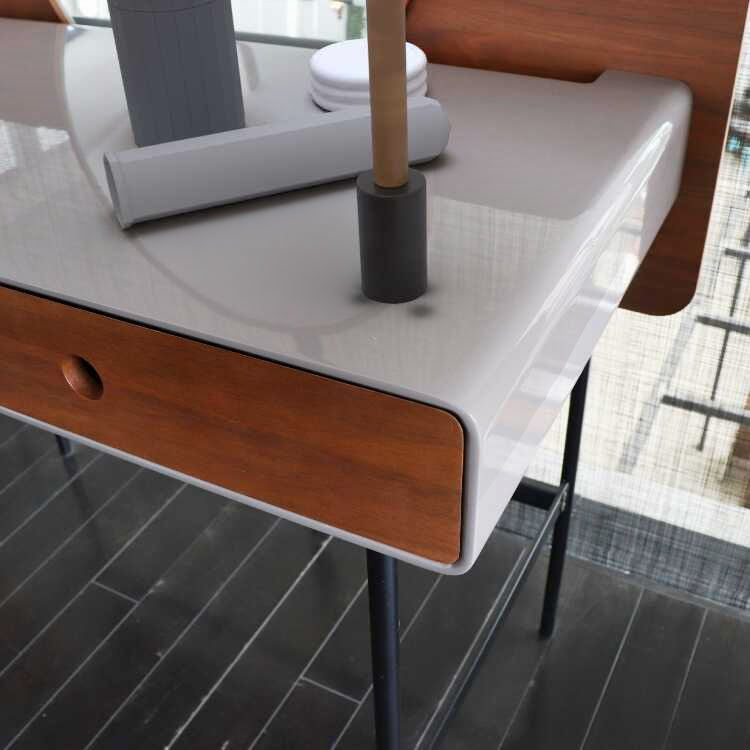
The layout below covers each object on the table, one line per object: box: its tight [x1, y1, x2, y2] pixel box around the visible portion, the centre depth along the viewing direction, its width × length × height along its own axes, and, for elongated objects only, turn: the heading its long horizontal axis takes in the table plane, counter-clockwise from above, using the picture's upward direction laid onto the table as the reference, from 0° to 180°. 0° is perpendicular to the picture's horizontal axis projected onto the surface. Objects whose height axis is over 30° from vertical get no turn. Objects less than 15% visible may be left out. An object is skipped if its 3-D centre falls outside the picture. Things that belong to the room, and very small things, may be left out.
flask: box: [106, 0, 247, 148], centre depth 77 cm, size 9×9×14 cm
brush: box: [355, 0, 428, 304], centre depth 55 cm, size 4×4×20 cm
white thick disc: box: [308, 37, 428, 112], centre depth 85 cm, size 10×10×4 cm
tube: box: [102, 95, 452, 230], centre depth 71 cm, size 5×5×25 cm
